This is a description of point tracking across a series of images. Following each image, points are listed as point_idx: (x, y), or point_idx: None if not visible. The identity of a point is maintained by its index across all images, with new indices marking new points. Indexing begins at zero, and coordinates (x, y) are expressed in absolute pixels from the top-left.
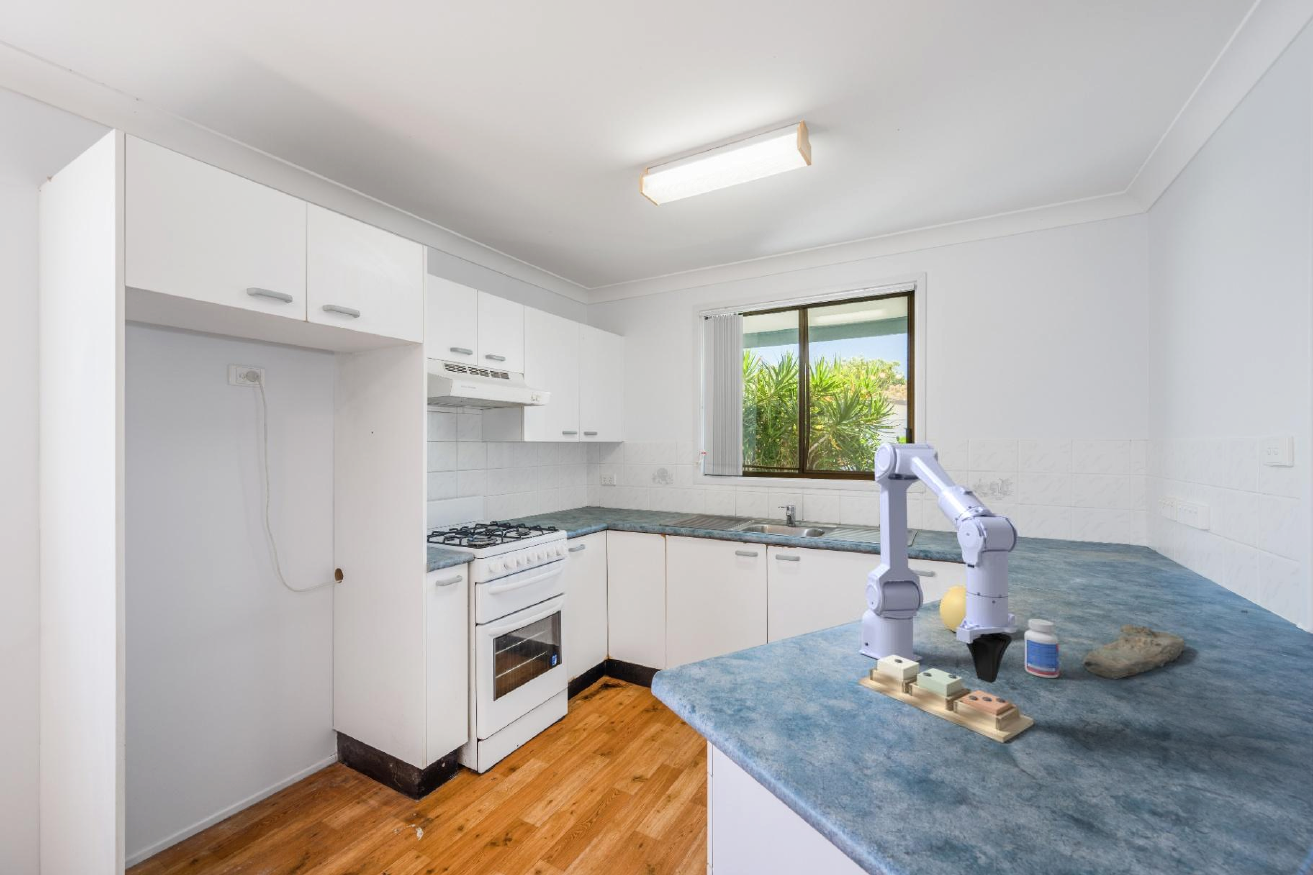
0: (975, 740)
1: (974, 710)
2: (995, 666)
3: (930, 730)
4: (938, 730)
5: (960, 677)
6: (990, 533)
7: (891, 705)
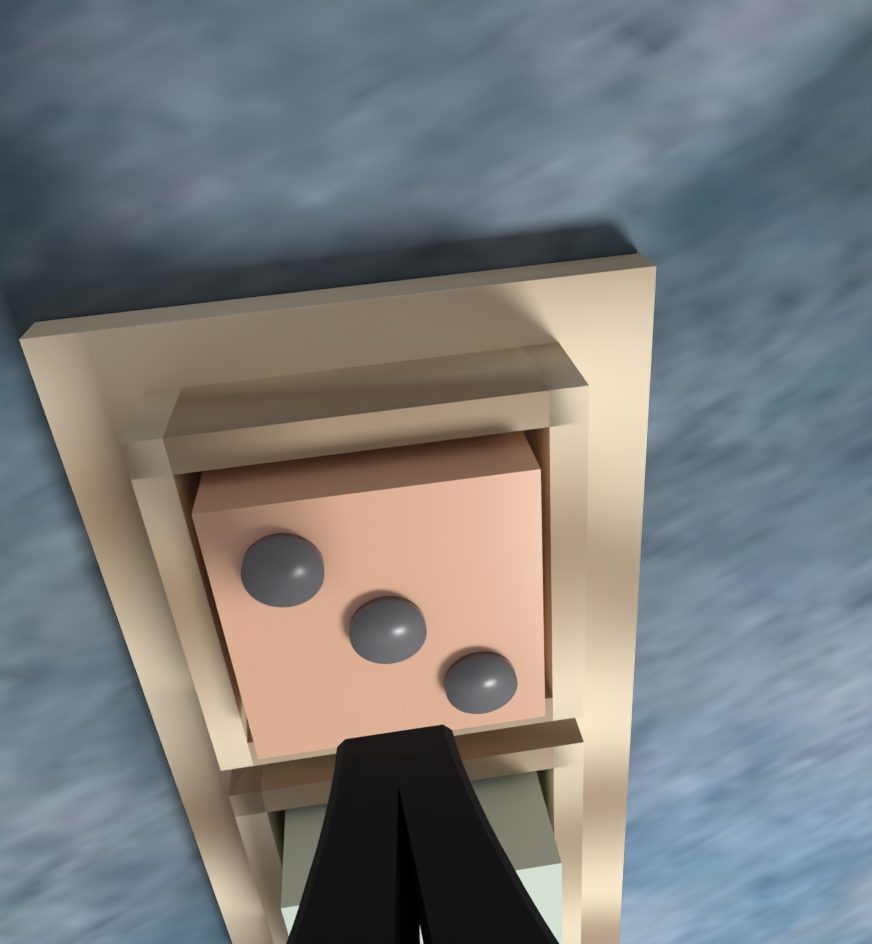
0: (768, 373)
1: (584, 573)
2: (467, 911)
3: (859, 576)
4: (819, 557)
5: (289, 915)
6: None
7: (714, 829)
